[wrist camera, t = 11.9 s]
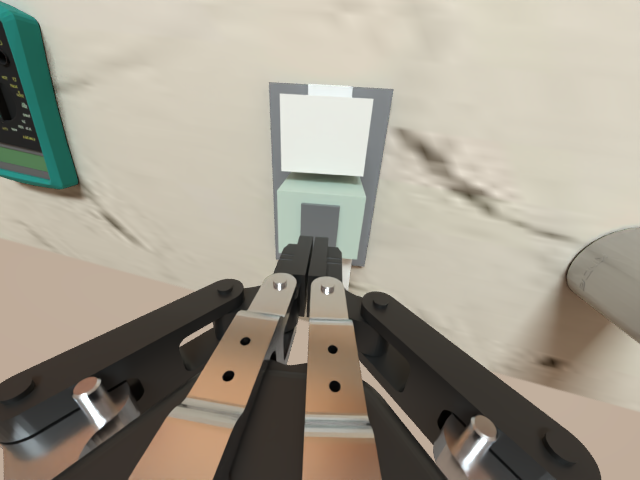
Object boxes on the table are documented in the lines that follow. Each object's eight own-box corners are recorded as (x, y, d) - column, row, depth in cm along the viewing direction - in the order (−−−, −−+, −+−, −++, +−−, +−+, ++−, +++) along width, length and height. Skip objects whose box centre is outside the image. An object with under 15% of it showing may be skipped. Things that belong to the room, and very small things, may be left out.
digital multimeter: (42, 11, 20) (-2, -3, 17) (84, 186, 27) (57, 194, 24) (-50, -12, 20) (-110, -31, 17) (16, 170, 27) (-19, 176, 24)
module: (357, 169, 22) (366, 198, 15) (351, 215, 24) (357, 261, 17) (296, 164, 22) (275, 192, 15) (296, 211, 24) (277, 255, 17)
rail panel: (390, 90, 21) (416, 80, 14) (363, 260, 29) (371, 308, 22) (272, 83, 21) (240, 70, 14) (278, 253, 29) (259, 298, 22)
